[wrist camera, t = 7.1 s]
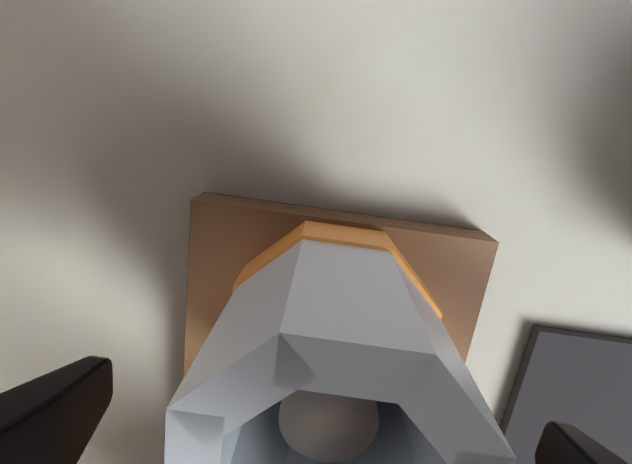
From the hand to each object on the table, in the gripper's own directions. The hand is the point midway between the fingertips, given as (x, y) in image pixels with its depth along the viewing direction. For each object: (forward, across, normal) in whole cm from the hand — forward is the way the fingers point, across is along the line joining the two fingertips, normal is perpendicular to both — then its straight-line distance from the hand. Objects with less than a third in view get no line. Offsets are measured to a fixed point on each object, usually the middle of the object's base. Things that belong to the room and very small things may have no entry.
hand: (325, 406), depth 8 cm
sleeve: (+4, 0, 0) cm, 4 cm away
